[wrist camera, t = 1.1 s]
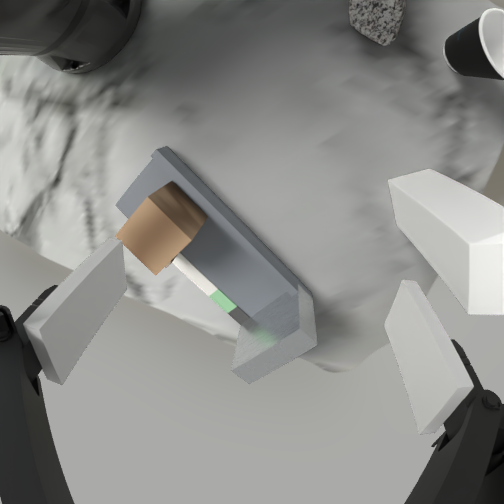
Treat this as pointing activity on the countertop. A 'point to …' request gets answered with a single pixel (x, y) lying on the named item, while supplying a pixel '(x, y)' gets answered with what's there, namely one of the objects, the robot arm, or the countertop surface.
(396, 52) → the countertop surface
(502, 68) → the dixie cup
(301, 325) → the grey metal block
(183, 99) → the countertop surface
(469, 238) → the milk
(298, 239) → the countertop surface
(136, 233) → the block
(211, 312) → the countertop surface
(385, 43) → the rock
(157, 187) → the gauge track
